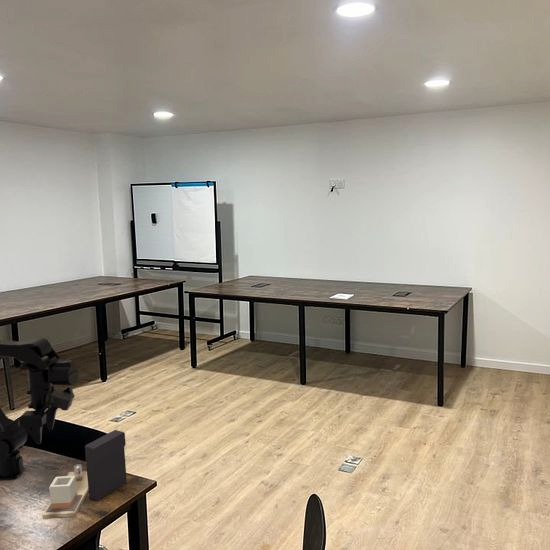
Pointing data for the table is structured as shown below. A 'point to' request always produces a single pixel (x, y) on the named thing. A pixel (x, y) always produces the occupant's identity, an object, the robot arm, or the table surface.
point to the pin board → (72, 512)
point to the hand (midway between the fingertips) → (45, 436)
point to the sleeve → (63, 492)
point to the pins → (78, 472)
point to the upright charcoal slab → (105, 464)
